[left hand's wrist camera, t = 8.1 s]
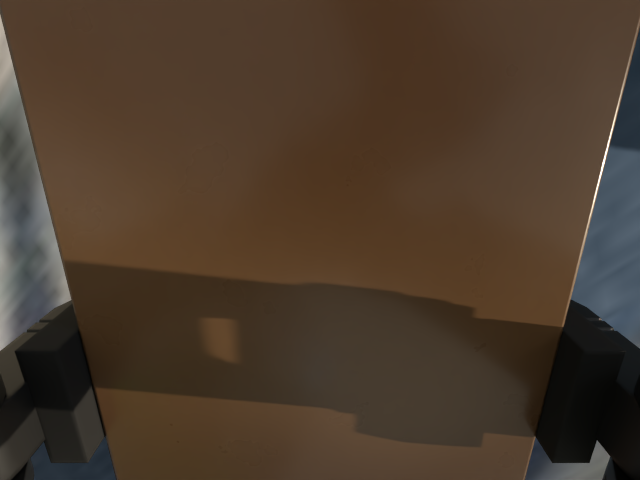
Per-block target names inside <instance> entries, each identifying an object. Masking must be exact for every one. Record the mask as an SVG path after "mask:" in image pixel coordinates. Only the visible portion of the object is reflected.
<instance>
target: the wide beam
mask: <svg viewBox="0 0 640 480" xmlns="http://www.w3.org/2000/svg"><path fill="white" fill-rule="evenodd" d="M0 14H1V18H2V22H3V26H4V30H5V34H6V39H7V43H8V47H9V51H10V55H11V59H12V63H13V67H14V71H15V75H16V79H17V83H18V87H19V91H20V95H21V99H22V103H23V107H24V111H25V115H26V119H27V123H28V127H29V131H30V135H31V139H32V143H33V147H34V151H35V155H36V159H37V163H38V167H39V171H40V175H41V179H42V183H43V187H44V191H45V195H46V199H47V203H48V207H49V211H50V215H51V219H52V223H53V227H54V231H55V235H56V239H57V243H58V247H59V251H60V255H61V259H62V263H63V267H64V271H65V275H66V279H67V283H68V287H69V291H70V295H71V299H72V304H73V308H74V312H75V316H76V320H77V324H78V328H79V332H80V336H81V340H82V344H83V348H84V352H85V356H86V360H87V364H88V368H89V372H90V376H91V380H92V384H93V388H94V392H95V396H96V400H97V404H98V408H99V412H100V416H101V420H102V424H103V428H104V432H105V436H106V440H107V444H108V448H109V452H110V456H111V460H112V464H113V468H114V472H115V476H116V480H525V476H526V472H527V468H528V464H529V460H530V456H531V453H532V449H533V445H534V441H535V437H536V433H537V429H538V425H539V421H540V417H541V413H542V409H543V405H544V401H545V398H546V394H547V390H548V386H549V382H550V378H551V374H552V370H553V366H554V362H555V358H556V354H557V350H558V346H559V342H560V339H561V335H562V331H563V327H564V323H565V319H566V315H567V311H568V307H569V303H570V299H571V295H572V291H573V287H574V284H575V280H576V276H577V272H578V268H579V264H580V260H581V256H582V252H583V248H584V244H585V240H586V236H587V232H588V229H589V225H590V221H591V217H592V213H593V209H594V205H595V201H596V197H597V193H598V189H599V185H600V181H601V177H602V173H603V170H604V166H605V162H606V158H607V154H608V150H609V146H610V142H611V138H612V134H613V130H614V126H615V122H616V118H617V115H618V111H619V107H620V103H621V99H622V95H623V91H624V87H625V83H626V79H627V75H628V71H629V67H630V63H631V59H632V56H633V52H634V48H635V44H636V40H637V36H638V32H639V28H640V0H0Z"/></svg>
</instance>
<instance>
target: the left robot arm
mask: <svg viewBox="0 0 640 480" xmlns="http://www.w3.org/2000/svg"><path fill="white" fill-rule="evenodd" d="M104 437H105V432H104V428H103V424H102V420H101V416H100V412H99V408H98V404H97V400H96V396H95V392H94V388H93V384H92V380H91V376H90V372H89V368H88V364H87V360H86V356H85V352H84V348H83V344H82V340H81V336H80V332H79V328H78V324H77V320H76V316H75V312H74V308H73V304H72V300H71V301H69V302H67V303H65V304H63V305H61V306H58V307H56V308H54V309H53V310H52V311H50V312H49V313H48V314H47V315H45V316H44V317H43V318H42V319H40V320H39V323H35V324H34V325H33V326H31V327H30V328H29V329H28V330H27V332H24V333H23V334H21V335H20V336H19V337H18V338H16V339H15V340H14V341H12V342H11V343H10V344H9V345H7V346H6V347H5V348H4V349H2V350H1V351H0V480H34V469H33V465H32V462H31V459H30V458H31V456H32V455H33V454H34V453H35V452H36V450H37V449H38V448H39V447H40V445H41V444H42V443H43V442H44V443H45V446H46V449H47V452H48V455H49V458H50V461H51V463H88V462H89V460H90V459H91V457H92V456H93V454H94V453H95V451H96V449H97V448H98V446H99V445H100V443H101V442H102V440H103V438H104ZM536 438H537V440H538V441H539V443H540V444H541V446H542V447H543V449H544V450H545V452H546V454H547V455H548V457H549V458H550V460H551V461H552V463H589V462H590V459H591V456H592V453H593V450H594V447H595V444H596V441H597V440H598V442H599V443H600V444H601V445H602V446H603V448H604V449H605V450H606V451H607V453H608V454H609V455H610V459H609V462H608V465H607V468H606V471H605V473H604V476H603V479H602V480H640V349H639V348H638V347H637V346H635V345H634V344H633V343H632V342H630V341H629V340H628V339H627V338H625V337H624V336H623V335H621V334H620V333H619V332H618V331H614V328H612V327H611V326H610V325H609V324H607V323H606V322H605V321H601V318H600V317H598V316H597V315H596V314H595V313H593V312H592V311H591V310H589V309H588V308H587V307H585V306H583V305H581V304H579V303H577V302H575V301H573V300H571V299H570V303H569V307H568V311H567V315H566V319H565V323H564V327H563V331H562V335H561V339H560V342H559V346H558V350H557V354H556V358H555V362H554V366H553V370H552V374H551V378H550V382H549V386H548V390H547V394H546V398H545V401H544V405H543V409H542V413H541V417H540V421H539V425H538V429H537V433H536Z"/></svg>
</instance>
